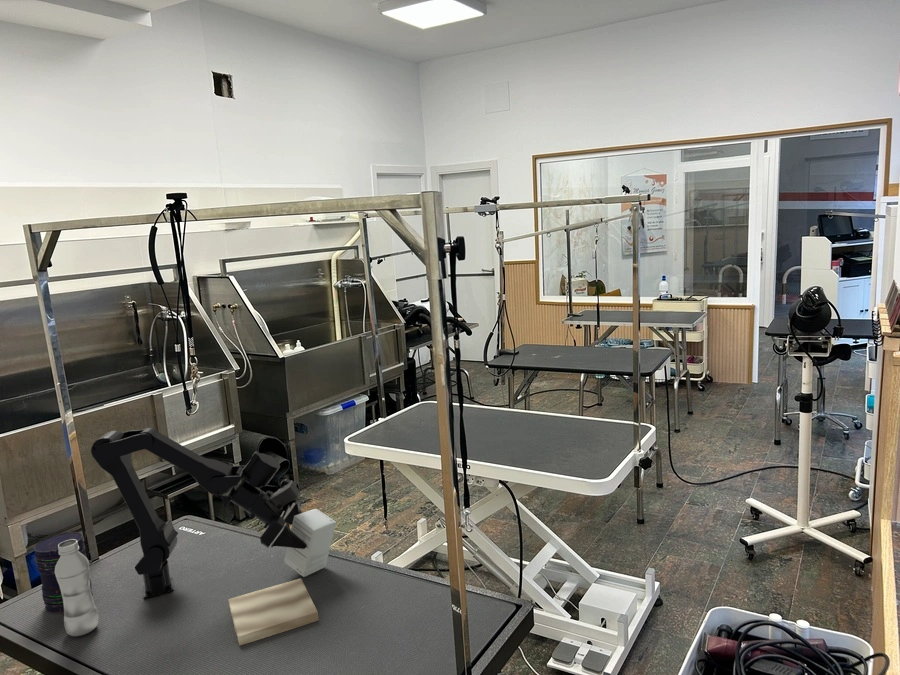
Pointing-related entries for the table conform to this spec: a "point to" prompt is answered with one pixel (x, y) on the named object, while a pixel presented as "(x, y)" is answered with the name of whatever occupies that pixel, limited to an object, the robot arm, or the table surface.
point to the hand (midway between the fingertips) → (309, 537)
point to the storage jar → (53, 568)
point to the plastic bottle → (75, 589)
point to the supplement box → (311, 542)
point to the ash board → (272, 611)
